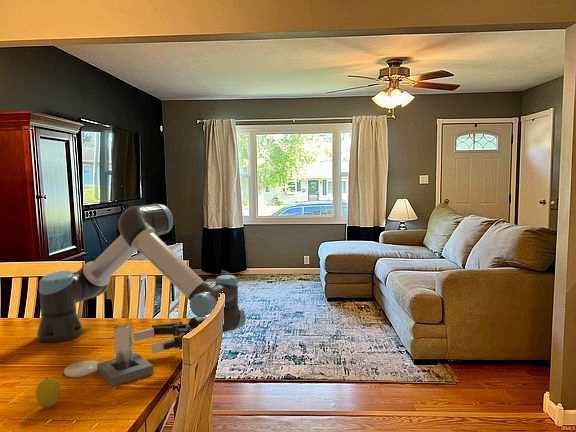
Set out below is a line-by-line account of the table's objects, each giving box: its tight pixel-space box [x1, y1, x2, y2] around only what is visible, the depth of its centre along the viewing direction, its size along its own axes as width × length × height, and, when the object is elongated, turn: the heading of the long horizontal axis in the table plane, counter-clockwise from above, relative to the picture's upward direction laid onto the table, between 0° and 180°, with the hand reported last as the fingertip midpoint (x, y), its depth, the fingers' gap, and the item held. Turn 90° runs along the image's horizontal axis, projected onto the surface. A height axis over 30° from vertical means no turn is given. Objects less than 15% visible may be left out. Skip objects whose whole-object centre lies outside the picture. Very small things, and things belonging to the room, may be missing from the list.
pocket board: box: [96, 352, 154, 387], centre depth 132 cm, size 13×12×2 cm
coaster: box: [63, 360, 100, 378], centre depth 134 cm, size 10×10×1 cm
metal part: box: [113, 323, 134, 371], centre depth 131 cm, size 5×5×14 cm
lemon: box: [35, 376, 62, 409], centre depth 112 cm, size 6×6×8 cm
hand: (142, 342), depth 134 cm, fingers open, 13 cm apart
